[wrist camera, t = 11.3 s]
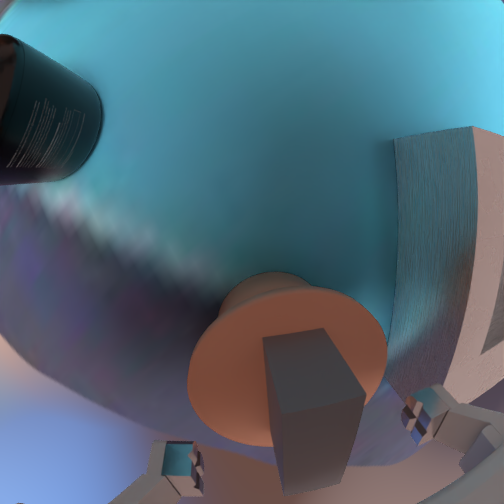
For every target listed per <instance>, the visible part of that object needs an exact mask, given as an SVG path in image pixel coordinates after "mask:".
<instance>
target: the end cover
mask: <svg viewBox="0 0 504 504" xmlns="http://www.w3.org/2000/svg"><path fill="white" fill-rule="evenodd" d="M386 363H387V343H386V338H385V335H384V332H383V330H382V328H381V326H380V324H379V323H378V321H377V320H376V319H375V318H374V317H373V315H372V314H371V313H370V312H369V311H368V310H367V309H366V308H364V307H363V306H362V305H361V304H360V303H359V302H357V301H356V300H355V299H353V298H351V297H350V296H348V295H346V294H344V293H342V292H339V291H336V290H333V289H329V288H324V287H318V286H311V285H310V284H309V283H308V282H307V281H305V280H304V279H302V278H300V277H298V276H296V275H293V274H290V273H285V272H266V273H260V274H257V275H254V276H252V277H249V278H247V279H245V280H244V281H242V282H240V283H239V284H238V285H237V286H235V287H234V288H233V289H232V290H231V291H230V292H229V293H228V295H227V296H226V297H225V299H224V301H223V303H222V305H221V307H220V310H219V314H218V318H217V319H216V320H215V321H214V322H213V323H212V324H211V325H210V326H209V327H208V328H207V329H206V330H205V332H204V333H203V334H202V336H201V337H200V339H199V340H198V342H197V344H196V346H195V348H194V350H193V353H192V356H191V359H190V366H189V372H188V378H187V391H188V395H189V399H190V402H191V404H192V407H193V409H194V410H195V412H196V414H197V415H198V417H199V418H200V419H201V420H202V421H203V422H204V423H205V424H206V425H207V426H208V427H210V428H211V429H212V430H213V431H215V432H217V433H218V434H220V435H222V436H224V437H226V438H228V439H230V440H233V441H236V442H239V443H244V444H248V445H254V446H267V447H274V452H275V457H276V462H277V466H278V471H279V476H280V480H281V485H282V490H283V494H284V496H288V495H293V494H298V493H303V492H307V491H312V490H317V489H320V488H325V487H329V486H332V485H336V484H339V483H340V482H341V479H342V476H343V474H344V471H345V468H346V465H347V462H348V460H349V457H350V453H351V450H352V447H353V444H354V441H355V437H356V434H357V431H358V427H359V423H360V420H361V416H362V412H363V408H364V406H365V405H366V404H367V402H368V401H369V400H370V399H371V397H372V396H373V394H374V393H375V391H376V390H377V388H378V386H379V384H380V382H381V380H382V377H383V375H384V372H385V368H386Z"/></svg>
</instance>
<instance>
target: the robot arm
mask: <svg viewBox="0 0 504 504" xmlns="http://www.w3.org/2000/svg"><path fill="white" fill-rule="evenodd" d="M405 403H406V404H407V405H406V406H405V407H404V409H403V410H402V413H401V421H402V424H403V426H404V427H405V429H407V430H410V431H411V435H410V436H411V437H412V439H413V440H414V442H415V443H416V445H417V446H419V445H421V444H423V443H425V442H427V441H429V440H431V439H433V438H434V440H436V441H438V442H440V443H442V444H444V445H446V446H449V447H451V448H453V449H455V450H457V451H459V452H462V453H464V454H465V455H464V457H463V458H462V459H461V460H460V462H459V466H460V467H461V469H462V470H463V471H464V473H465V474H464V475H463V476H461V477H460V478H459V479H457V480H455V481H454V482H452V483H451V484H450V485H448V486H446V487H445V488H443V489H442V490H440V491H438V492H437V493H435V494H433V495H432V496H430V497H428V498H426V499H424V500H423V501H421V502H419V503H417V504H504V414H503V413H499V412H495V411H491V410H487V409H483V408H479V407H476V406H471V405H468V404H465V403H460V404H459V403H458V402H457V401H456V400H455V399H454V398H453V397H452V395H451V394H450V393H449V392H448V391H447V390H446V389H445V388H444V387H443V386H442V385H441V384H439V383H436V384H434V385H432V386H430V387H428V388H425V389H423V390H420V391H418V392H416V393H414V394H412V395H409V396H408V397H407V399H406V402H405ZM203 474H204V462H203V457H202V455H201V453H200V452H199V451H198V446H197V444H196V442H195V441H162V440H161V441H160V440H154V442H153V443H152V448H151V452H150V457H149V462H148V468H147V473H146V474H142V475H141V476H140V477H139V478H138V479H136V480H135V481H134V482H133V483H132V484H131V485H130V486H128V487H127V488H126V489H125V490H124V491H123V492H121V494H119V495H118V496H117V497H116V498H114V499H113V500H112V501H111V502H110V503H108V504H177V502H178V501H179V500H180V499H181V496H204V482H203V480H202V478H201V476H202V475H203ZM17 504H23V503H17Z"/></svg>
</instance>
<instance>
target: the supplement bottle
mask: <svg viewBox="0 0 504 504" xmlns="http://www.w3.org/2000/svg"><path fill="white" fill-rule="evenodd" d="M100 122H101V106H100V101H99V98H98V95H97V93H96V91H95V90H94V88H93V87H92V86H91V85H90V84H89V83H88V82H86V81H85V80H84V79H82V78H81V77H79V76H78V75H76V74H75V73H73V72H72V71H70V70H68V69H67V68H65V67H64V66H62V65H61V64H59V63H57V62H56V61H54V60H53V59H51V58H49V57H48V56H46V55H45V54H43V53H41V52H40V51H38V50H36V49H35V48H33V47H31V46H30V45H28V44H26V43H24V42H23V41H21V40H19V39H17V38H15V37H13V36H11V35H8V34H0V186H2V185H14V184H27V183H42V182H53V181H57V180H60V179H63V178H65V177H67V176H68V175H70V174H71V173H73V172H74V171H75V170H76V169H77V168H78V167H79V166H80V165H81V164H82V163H83V162H84V160H85V159H86V158H87V156H88V155H89V153H90V151H91V150H92V148H93V146H94V143H95V141H96V138H97V135H98V132H99V128H100Z"/></svg>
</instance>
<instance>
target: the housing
mask: <svg viewBox="0 0 504 504" xmlns="http://www.w3.org/2000/svg"><path fill="white" fill-rule="evenodd" d="M393 140H394V149H395V159H396V171H397V189H398V256H397V273H396V286H395V296H394V305H393V314H392V321H391V328H390V335H389V341H388V347H387V363H386V368H385V372H384V375H383V376H384V377H385V378H386V380H387V381H388V382H389V384H390V385H391V386H392V387H393V389H394V390H395V391H396V393H397V394H398V395H399V397H400V398H401V399H402V401H403V402H404V403H405V402H406V399H407V397H408V396H409V395H412V394H414V393H416V392H418V391H420V390H423V389H425V388H428V387H430V386H432V385H434V384H436V383H439V384H441V385H442V386H443V387H444V388H445V389H446V390H447V391H448V392H449V393H450V394H451V395H452V397H453V398H454V399H455V400H456V401H457V402H458V403H459V404H460V403H465V404H468V403H469V402H471V401H472V400H474V399H476V398H477V397H479V396H480V395H481V394H483V393H484V392H486V391H487V390H488V389H490V388H491V387H492V386H494V385H495V384H496V383H498V382H499V381H500V380H502V379H503V378H504V136H501V135H498V134H496V133H493V132H490V131H487V130H483V129H480V128H477V127H474V126H469V127H461V128H454V129H447V130H441V131H435V132H429V133H423V134H417V135H412V136H407V137H401V138H396V139H393ZM405 404H406V403H405ZM406 405H407V404H406Z"/></svg>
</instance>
